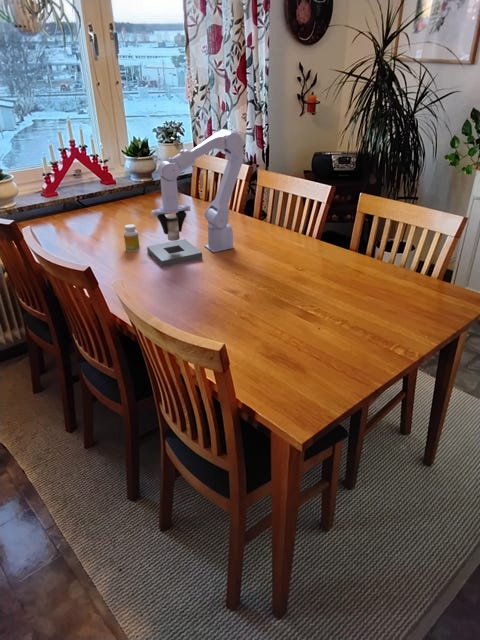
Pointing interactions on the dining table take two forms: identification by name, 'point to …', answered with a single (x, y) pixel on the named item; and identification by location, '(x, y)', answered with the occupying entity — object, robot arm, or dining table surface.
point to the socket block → (184, 255)
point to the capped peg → (173, 228)
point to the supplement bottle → (131, 238)
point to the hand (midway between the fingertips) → (172, 232)
